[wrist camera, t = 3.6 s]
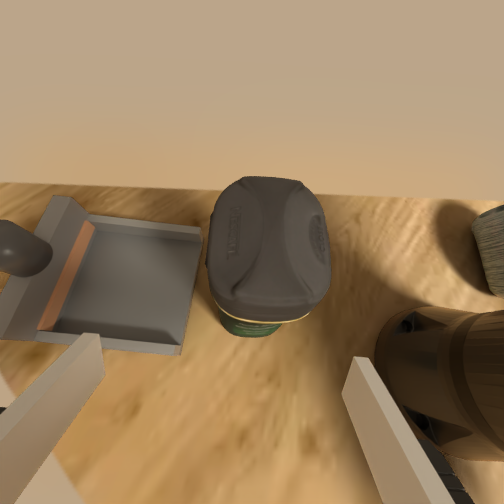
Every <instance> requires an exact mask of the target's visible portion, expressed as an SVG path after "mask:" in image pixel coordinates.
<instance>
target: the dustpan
mask: <svg viewBox="0 0 504 504" xmlns="http://www.w3.org/2000/svg"><path fill="white" fill-rule="evenodd" d="M203 242H204V238H203V234H202V231H201V227H193V226H185V225H177V224H168V223H160V222H151V221H143V220H134V219H126V218H118V217H109V216H101V215H92V214H89V213H88V212H87V211H86V210H85V209H84V208H83V207H81V206H80V205H79V204H78V203H77V202H76V201H75V200H74V199H73V198H72V197H65V196H57V195H53V197H52V199H51V201H50V203H49V205H48V206H47V208H46V210H45V212H44V214H43V216H42V218H41V219H40V221H39V223H38V225H37V227H36V229H35V231H34V233H33V234H32V233H30V232H28V231H27V230H25V229H23V228H21V227H20V226H18V225H16V224H15V223H13V222H11V221H8V220H0V271H2V272H5V273H8V274H11V276H10V277H9V279H8V281H7V283H6V285H5V287H4V289H3V291H2V292H1V294H0V339H1V340H21V341H37V342H47V343H56V344H66V345H72V344H73V343H74V342H75V341H76V340H77V339H78V338H79V337H80V336H81V335H82V334H83V333H95V334H99V335H100V342H101V348H104V349H113V350H123V351H133V352H142V353H152V354H161V355H171V356H177V355H181V351H182V346H183V341H184V336H185V331H186V326H187V321H188V316H189V312H190V307H191V302H192V297H193V292H194V287H195V282H196V277H197V272H198V267H199V262H200V257H201V252H202V247H203Z"/></svg>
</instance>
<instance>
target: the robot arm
mask: <svg viewBox="0 0 504 504" xmlns="http://www.w3.org/2000/svg"><path fill="white" fill-rule="evenodd" d="M375 367H376V370H375V368H374V367H373V365H372V363H371V362H370V360H369V358H366V357H355V356H354V357H353V360H352V363H351V366H350V369H349V372H348V375H347V378H346V381H345V384H344V388H343V391H342V394H341V395H342V398H343V400H344V403H345V405H346V408H347V411H348V413H349V416H350V418H351V421H352V424H353V426H354V429H355V432H356V434H357V437H358V439H359V442H360V445H361V447H362V450H363V452H364V455H365V458H366V460H367V463H368V465H369V468H370V471H371V473H372V476H373V478H374V481H375V484H376V486H377V489H378V491H379V494H380V497H381V499H382V502H383V504H474V502H473V501H472V499H471V498H470V496H469V494H468V493H466V492H465V488H464V487H463V485H462V484H461V482H460V481H459V479H458V478H457V477H456V476H455V473H454V472H453V470H452V468H451V467H450V465H449V464H448V462H447V461H446V459H445V458H444V456H443V455H442V454H441V453H440V452H439V451H438V450H437V449H439V450H441V451H443V452H445V453H447V454H449V455H452V456H455V457H458V458H462V459H466V460H476V461H503V462H504V310H499V311H494V312H487V313H480V314H479V313H473V312H467V311H461V310H455V309H449V308H443V307H434V306H429V307H419V308H415V309H410V310H407V311H403V312H401V313H399V314H397V315H395V316H394V317H393V318H391V319H390V320H389V321H388V322H387V323H386V325H385V326H384V327H383V329H382V331H381V333H380V335H379V337H378V341H377V344H376V350H375ZM104 376H105V368H104V361H103V355H102V348H101V342H100V335H99V334H95V333H83V334H82V335H81V336H80V337H79V338H78V339H77V340H76V341H75V342H74V343H73V344H72V345H71V346H70V347H69V348H68V349H67V350H66V351H65V352H64V353H63V354H62V355H61V356H60V357H58V358H57V359H56V360H55V361H54V362H53V363H52V364H51V365H50V366H49V367H48V368H47V369H46V370H45V371H44V372H43V373H42V374H41V375H40V376H39V377H38V378H37V379H36V380H35V381H34V382H33V383H32V384H31V385H30V386H29V387H28V388H27V389H26V390H25V391H24V392H23V393H22V394H21V395H20V396H19V397H18V398H17V399H16V400H15V401H14V402H13V403H12V404H11V405H10V406H9V407H8V408H5V407H0V504H14V503H15V502H16V500H17V499H18V497H19V496H20V495H21V493H22V492H23V490H24V489H25V487H26V486H27V485H28V483H29V482H30V480H31V479H32V478H33V476H34V475H35V473H36V472H37V471H38V469H39V468H40V466H41V465H42V464H43V462H44V461H45V459H46V458H47V456H48V455H49V454H50V452H51V451H52V449H53V448H54V447H55V445H56V444H57V442H58V441H59V440H60V438H61V437H62V435H63V434H64V433H65V431H66V430H67V428H68V427H69V425H70V424H71V423H72V421H73V420H74V418H75V417H76V416H77V414H78V413H79V411H80V410H81V409H82V407H83V406H84V404H85V403H86V401H87V400H88V399H89V397H90V396H91V394H92V393H93V392H94V390H95V389H96V387H97V386H98V385H99V383H100V382H101V380H102V379H103V378H104ZM415 436H416V437H417V438H419V439H416V437H415Z"/></svg>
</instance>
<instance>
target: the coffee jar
mask: <svg viewBox="0 0 504 504" xmlns="http://www.w3.org/2000/svg"><path fill="white" fill-rule="evenodd" d="M205 265H206V268H207V272H208V279H209V286H210V291H211V294H212V296H213V299H214V300H215V302H216V304H217V305H218V309H219V314H220V319H221V322H222V325H223V326H224V328H225V329H226V330H227V331H228V332H229V333H231V334H233V335H236V336H240V337H254V338H256V337H264V336H268V335H270V334H272V333H273V332H275V331H276V330H277V329H278V328H279V327H280V326H281V325H282V323H288V322H293V321H296V320H299V319H301V318H303V317H305V316H306V315H308V314H309V313H310V312H311V311H312V310H313V308H314V307H315V306H316V305H317V304H318V303H319V302H320V301H321V300H322V298H323V297H324V296H325V294H326V293H327V291H328V289H329V286H330V282H331V257H330V244H329V237H328V232H327V226H326V221H325V216H324V212H323V209H322V207H321V205H320V203H319V201H318V200H317V198H316V197H315V196H314V194H313V193H312V192H311V191H310V190H309V189H308V188H307V187H305V186H304V185H303V183H302V182H300V181H297V180H291V179H285V178H276V177H259V176H258V177H257V176H249V177H248V176H247V177H242V178H241V179H240V180H238V181H236V182H234V183H232V184H231V185H229V186H228V187H227V188H226V189H225V190H224V191H223V192H222V193H221V195H220V196H219V198H218V199H217V201H216V204H215V207H214V211H213V213H212V214H211V216H210V227H209V235H208V245H207V252H206V260H205Z"/></svg>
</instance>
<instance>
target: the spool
mask: <svg viewBox="0 0 504 504" xmlns="http://www.w3.org/2000/svg"><path fill="white" fill-rule="evenodd" d="M472 233H473V234H474V236H475V239H476V241H477V246H478V249H479V252H480V256H481V260H482V264H483V269H484V271H485V275H486V280H487V282H488V284H489V289H490V290H491V292H492V293H493V294H495V295H496V296H498V297H500V298H503V299H504V205H501V206H499V207H496V208H493V209H491V210H489V211H486V212H484V213H482V214H481V215H480V216H479V217H477V218H476V219H475V220H474V221H473V223H472Z"/></svg>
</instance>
